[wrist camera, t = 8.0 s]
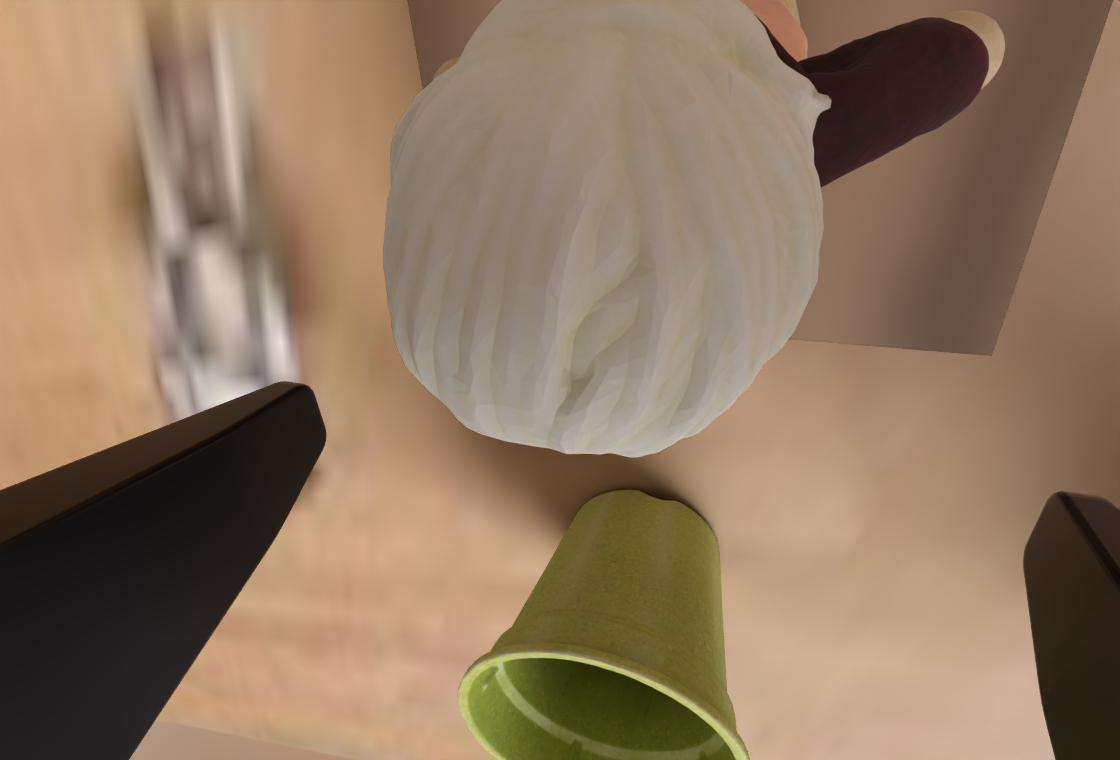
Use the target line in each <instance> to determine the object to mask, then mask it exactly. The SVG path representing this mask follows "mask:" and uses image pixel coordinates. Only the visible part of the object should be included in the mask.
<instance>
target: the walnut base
mask: <svg viewBox="0 0 1120 760" xmlns="http://www.w3.org/2000/svg"><path fill="white" fill-rule="evenodd" d="M407 1H408V6H409V12H410V18H411V23H412V29H413V35H414V40H415V46H416V52H417V57H418V63H419V69H420V74H421V80H422V86H423V89H424V88H425V87H427V86H428V85H429V84H430V83H431V82H432V81H433V79H434V76H435V74H436V72H437V71H438V69H439V68H440V67H441V66H442V65H443V64H444V63H445V62H447V61H449V60H451V59H453V58H457V57H461V55H462V53H463V51H464V48H465V46H466V44H467V43H468V41H469V40H470V38H471V37H472V35H473V34H474V32H475V31H476V29H477V28H478V27H479V26H480V24H481V23H482V22H483V21H484V20H485V18H486V17H487V16H488V15H489V14H490V12H491V11H492V10H493V9H494V8H495V7H496V6H497V5H498V4H499V3H500V1H501V0H407ZM1112 2H1113V0H796V3H797V8H798V13H799V18H800V23H801V28H802V30H803V31H804V33H805V36H806V38H807V44H808V50H807V58H810V57H814V56H817V55H822V54H826V53H829V52H831V51H833V50H835V49H836V48H838V47H840V46H842V45H844V44H847V43H850V42H852V41H853V40H855V39H861V38H864V37H867V36H869V35H872V34H874V33H876V32H879V31H883V30H888V29H890V28H892V27H895V26H897V25H901V24H904V23H908V22H911V21H914V20H917V19H920V18H928V17H935V18H940V17H942V16H944V15H947V14H950V13H952V12H956V11H964V10H967V11H975V12H981V13H983V14H985V15H987V16H989V17H990V18H992V19H994V20H995V21H996V22H997V24H998V25H999V27H1000V29H1001V31H1002V33H1003V35H1004V41H1005V51H1004V56H1003V60H1002V63H1001V65H1000V67H999V69H998V71H997V73H996V74H995V75H994V76H993V78H992V79H991V80H990V82H989V83H988V84H987V85H986V86H984V87H983V88H982V89H981V90H980V92H979V93H978V95H977V96H976V97H975V99H974V100H973V101H972V102H971V104H970V105H969V106H968V107H966V108H965V109H964V110H963V111H962V112H960V113H959V114H958V115H956V116H955V117H954V118H952V119H951V120H949V121H948V122H946V123H945V124H943V125H942V126H941V127H939V128H938V129H935V130H933V131H931V132H928V133H925V134H923V135H920V136H917V137H915V138H914V139H912V140H911V141H909V142H907V143H906V144H904V145H903V146H900V147H898V148H896V149H894V150H892V151H891V152H889V153H887V154H885V155H883V156H881V157H880V158H878V159H876V160H874V161H872V162H870V163H868V164H865V165H863V166H861V167H859V168H857V169H856V170H854V171H852V172H850V173H848V174H846V175H844V176H842V177H840V178H838V179H836V180H834V181H833V182H831V183H829V184H828V185H826V186H823V187H821V193H822V199H823V225H824V229H823V235H822V241H821V246H820V250H819V268H818V281H817V284H816V286H815V288H814V290H813V292H812V295H811V297H810V299H809V301H808V304H807V306H806V308H805V310H804V312H803V314H802V317H801V319H800V321H799V323H798V325H797V327H796V329H795V331H794V332H793V334H792V335H791V336H790V338H789V339H793V340H805V341H817V342H830V343H842V344H854V345H866V346H878V347H890V348H903V349H915V350H927V351H939V352H951V353H963V354H976V355H988V356H992V353H993V350H994V347H995V344H996V341H997V338H998V336H999V333H1000V330H1001V327H1002V324H1003V321H1004V318H1005V315H1006V312H1007V309H1008V306H1009V303H1010V300H1011V297H1012V295H1013V292H1014V289H1015V286H1016V283H1017V280H1018V277H1019V274H1020V271H1021V268H1022V265H1023V262H1024V259H1025V256H1026V253H1027V251H1028V248H1029V245H1030V242H1031V239H1032V236H1033V233H1034V230H1035V227H1036V224H1037V221H1038V218H1039V215H1040V212H1041V210H1042V207H1043V204H1044V201H1045V198H1046V195H1047V192H1048V189H1049V186H1050V183H1051V180H1052V177H1053V174H1054V171H1055V169H1056V166H1057V163H1058V160H1059V157H1060V154H1061V151H1062V148H1063V145H1064V142H1065V139H1066V136H1067V133H1068V130H1069V128H1070V125H1071V122H1072V119H1073V116H1074V113H1075V110H1076V107H1077V104H1078V101H1079V98H1080V95H1081V92H1082V89H1083V87H1084V84H1085V81H1086V78H1087V75H1088V72H1089V69H1090V66H1091V63H1092V60H1093V57H1094V54H1095V51H1096V48H1097V46H1098V43H1099V40H1100V37H1101V34H1102V31H1103V28H1104V25H1105V22H1106V19H1107V16H1108V13H1109V10H1110V7H1111V5H1112Z"/></svg>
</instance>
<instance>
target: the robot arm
mask: <svg viewBox="0 0 1120 760" xmlns="http://www.w3.org/2000/svg"><path fill="white" fill-rule="evenodd" d="M325 442H326V428H325V425H324V422H323V419H322V416H321V413H320V410H319V407H318V404H317V400H316V397H315V394H314V392H313V390H312V389H311V388H310V387H309V386H307V385H305V384H300V383H293V382H285V381H283V382H277V383H274V384H272V385H269V386H267V387H264V388H262V389H259V390H256V391H254V392H251V393H249V394H246V395H244V396H241V397H238V398H236V399H233V400H231V401H228V402H226V403H223V404H220V405H218V406H215V407H213V408H210V409H208V410H205V411H203V412H200V413H197V414H195V415H192V416H190V417H187V418H185V419H182V420H179V421H177V422H174V423H172V424H169V425H167V426H164V427H161V428H159V429H156V430H154V431H151V432H149V433H146V434H143V435H141V436H138V437H136V438H133V439H131V440H128V441H125V442H123V443H120V444H118V445H115V446H113V447H110V448H107V449H105V450H102V451H100V452H97V453H95V454H92V455H89V456H87V457H84V458H82V459H79V460H77V461H74V462H72V463H69V464H66V465H64V466H61V467H59V468H56V469H54V470H51V471H48V472H46V473H43V474H41V475H38V476H36V477H33V478H30V479H28V480H25V481H23V482H20V483H18V484H15V485H12V486H10V487H7V488H5V489H2V490H0V760H129V759H130V758H131V756H132V755H133V753H134V752H135V750H136V749H137V747H138V746H139V744H140V743H141V741H142V739H143V738H144V736H145V735H146V733H147V732H148V730H149V729H150V727H151V726H152V724H153V723H154V721H155V720H156V718H157V717H158V715H159V714H160V712H161V711H162V709H163V708H164V706H165V705H166V703H167V702H168V700H169V699H170V697H171V696H172V694H173V693H174V691H175V690H176V688H177V687H178V685H179V684H180V682H181V681H182V679H183V678H184V676H185V675H186V673H187V672H188V670H189V669H190V667H191V666H192V664H193V662H194V661H195V659H196V658H197V656H198V655H199V653H200V652H201V650H202V649H203V647H204V646H205V644H206V643H207V641H208V640H209V638H210V637H211V635H212V634H213V632H214V631H215V629H216V628H217V626H218V625H219V623H220V622H221V620H222V619H223V617H224V616H225V614H226V613H227V611H228V610H229V608H230V607H231V605H232V604H233V602H234V601H235V599H236V598H237V596H238V595H239V593H240V591H241V590H242V588H243V587H244V585H245V584H246V582H247V581H248V579H249V578H250V576H251V575H252V573H253V572H254V570H255V569H256V567H257V566H258V564H259V563H260V561H261V560H262V558H263V557H264V555H265V554H266V552H267V551H268V549H269V548H270V546H271V544H272V543H273V541H274V540H275V538H276V536H277V535H278V533H279V531H280V529H281V527H282V526H283V524H284V522H285V520H286V518H287V516H288V515H289V513H290V511H291V509H292V507H293V505H294V503H295V501H296V499H297V498H298V496H299V494H300V492H301V490H302V488H303V486H304V484H305V482H306V481H307V479H308V477H309V475H310V473H311V471H312V469H313V467H314V465H315V464H316V462H317V460H318V458H319V456H320V454H321V452H322V450H323V448H324V446H325ZM1023 568H1024V576H1025V584H1026V592H1027V599H1028V607H1029V615H1030V623H1031V630H1032V638H1033V646H1034V653H1035V661H1036V669H1037V676H1038V683H1039V690H1040V696H1041V702H1042V707H1043V711H1044V716H1045V720H1046V724H1047V729H1048V733H1049V736H1050V740H1051V744H1052V748H1053V752H1054V756H1055V759H1056V760H1120V509H1118V508H1117V507H1116V506H1114V505H1113V504H1112V503H1110V502H1109V501H1107V500H1106V499H1104V498H1102V497H1098V496H1092V495H1085V494H1078V493H1071V492H1064V491H1060V492H1057V493H1054V494H1053V495H1052V496H1051V497H1050V498H1049V499H1048V500H1047V502H1046V504H1045V506H1044V508H1043V510H1042V512H1041V514H1040V517H1039V519H1038V521H1037V523H1036V525H1035V527H1034V529H1033V531H1032V533H1031V535H1030V537H1029V539H1028V542H1027V544H1026V546H1025V550H1024V557H1023Z"/></svg>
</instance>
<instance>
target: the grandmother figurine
mask: <svg viewBox="0 0 1120 760" xmlns="http://www.w3.org/2000/svg"><path fill="white" fill-rule="evenodd" d="M807 50H808V44H807V38H806V36H805V33H804V31H803V30H802V28H801V23H800V18H799V13H798V8H797V3H796V0H501V1H500V3H499V4H498V5H497V6H496V7H495V8H494V9H493V10H492V11H491V12H490V14H489V15H488V16H487V17H486V18H485V20H484V21H483V22H482V23H481V24H480V26H479V27H478V28H477V29H476V31H475V32H474V34H473V35H472V37H471V38H470V40H469V41H468V43H467V44H466V46H465V48H464V51H463V53H462V55H461V57H457V58H453V59H451V60H449V61H447V62H445V63H444V64H443V65H442V66H441V67H440V68H439V69H438V71H437V72H436V74H435V76H434V79H433V81H432V82H431V83H430V84H429V85H428V86H427V87H425V88H424V89H423V90H422V91H421V92H420V93H419V94H418V95H417V96H416V97H415V99H414V100H413V101H412V102H411V104H410V105H409V107H408V108H407V110H406V112H405V113H404V115H403V116H402V118H401V119H400V121H399V122H398V124H397V125H396V129H395V132H394V136H393V140H392V146H391V153H390V159H391V190H390V193H389V196H388V199H387V210H386V222H385V233H384V245H383V268H384V274H385V280H386V290H387V301H388V308H389V311H390V315H391V323H392V329H393V334H394V339H395V344H396V347H397V349H398V351H399V353H400V356H401V358H402V360H403V363H404V364H405V366H406V367H407V368H408V369H409V371H410V372H411V373H412V374H413V375H414V376H415V377H416V378H417V379H418V380H419V381H420V382H421V383H422V384H423V385H424V387H425V388H426V389H427V390H428V391H430V392H431V393H432V394H433V395H434V396H435V397H436V398H438V399H439V400H440V401H441V402H442V403H443V404H445V405H446V406H447V408H448V409H449V410H450V411H451V412H452V413H453V415H454V416H455V417H456V419H457V420H458V421H460V422H461V423H462V424H463V425H464V426H465V427H467V428H469V429H471V430H473V431H475V432H477V433H479V434H482V435H485V436H489V437H493V438H496V439H500V440H503V441H507V442H513V443H519V444H524V445H530V446H535V447H542V448H550V449H553V450H556V451H559V452H562V453H565V454H597V455H602V454H607V453H614V454H618V455H621V456H625V457H629V458H635V457H641V456H645V455H649V454H654V453H658V452H660V451H662V450H663V449H665V448H667V447H669V446H671V445H673V444H674V443H676V442H677V441H678V440H680V439H683V438H687V437H691V436H694V435H696V434H697V433H699V432H700V431H701V430H703V429H704V428H706V427H707V426H708V425H709V424H710V423H711V422H712V421H713V420H714V419H715V418H717V417H718V416H719V415H721V414H722V413H723V412H725V411H726V410H727V409H729V408H730V407H731V406H732V405H733V403H734V402H735V401H736V399H737V398H738V397H739V396H740V395H741V394H742V393H744V392H745V391H746V390H747V389H749V387H750V386H751V384H752V383H753V381H754V379H755V378H756V376H757V374H758V373H759V371H760V370H761V368H762V366H763V365H764V363H766V362H767V361H768V360H769V359H771V358H772V357H773V356H774V355H775V354H776V353H777V352H778V351H779V350H780V349H781V348H782V347H783V346H784V344H785V343H786V342H787V340H788V339H789V338H790V336H791V335H792V334H793V332H794V331H795V329H796V327H797V325H798V323H799V321H800V319H801V317H802V314H803V312H804V310H805V308H806V306H807V304H808V301H809V299H810V297H811V295H812V292H813V290H814V288H815V286H816V284H817V281H818V268H819V250H820V246H821V241H822V235H823V229H824V225H823V199H822V193H821V187H823V186H826V185H828V184H829V183H831V182H833V181H834V180H836V179H838V178H840V177H842V176H844V175H846V174H848V173H850V172H852V171H854V170H856V169H857V168H859V167H861V166H863V165H865V164H868V163H870V162H872V161H874V160H876V159H878V158H880V157H881V156H883V155H885V154H887V153H889V152H891V151H892V150H894V149H896V148H898V147H900V146H903V145H904V144H906V143H907V142H909V141H911V140H912V139H914V138H915V137H917V136H920V135H923V134H925V133H928V132H931V131H933V130H935V129H938V128H939V127H941V126H942V125H943V124H945V123H946V122H948V121H949V120H951V119H952V118H954V117H955V116H956V115H958V114H959V113H960V112H962V111H963V110H964V109H965V108H966V107H968V106H969V105H970V104H971V102H972V101H973V100H974V99H975V97H976V96H977V95H978V93H979V92H980V90H981V89H982V88H983V87H984V86H986V85H987V84H988V83H989V82H990V80H991V79H992V78H993V76H994V75H995V74H996V73H997V71H998V69H999V67H1000V65H1001V63H1002V60H1003V56H1004V51H1005V41H1004V35H1003V33H1002V31H1001V29H1000V27H999V25H998V24H997V22H996V21H995V20H994V19H992V18H990V17H989V16H987V15H985V14H983V13H981V12H975V11H967V10H964V11H956V12H952V13H950V14H947V15H944V16H942V17H940V18H935V17H928V18H920V19H917V20H914V21H911V22H908V23H904V24H901V25H897V26H895V27H892V28H890V29H888V30H883V31H879V32H876V33H874V34H872V35H869V36H867V37H864V38H861V39H855V40H853V41H852V42H850V43H847V44H844V45H842V46H840V47H838V48H836V49H835V50H833V51H831V52H829V53H826V54H822V55H817V56H814V57H810V58H807Z"/></svg>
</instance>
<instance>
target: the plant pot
mask: <svg viewBox="0 0 1120 760" xmlns="http://www.w3.org/2000/svg"><path fill="white" fill-rule="evenodd" d="M458 706H459V709H460V712H461V714H462V717H463V718H464V720H465V722H466V724H467V726H468V728H469V730H470V731H471V732H472V734H473V736H474V737H475V738H476V739H477V741H478V742H479V743H480V744H481V745H482V746H483V747H484V748H485V749H486V750H487V751H488V752H489V753H490V754H492V755H493V756H494V757H496V759H497V760H750V758H749V754H748V751H747V749H746V747H745V744H744V742H743V740H742V739H741V737H740V736H739V734H738V733H737V730H736V720H735V713H734V709H733V705H732V703H731V700H730V698H729V695H728V693H727V683H726V666H725V648H724V632H723V615H722V593H721V570H720V552H719V546H718V543H717V540H716V537H715V535H714V534H713V532H712V530H711V529H710V527H709V526H708V525H707V524H706V522H705V521H704V520H703V519H702V518H701V517H700V516H699V515H697V514H696V513H695V512H694V511H692V510H691V509H690V508H688V507H687V506H685V505H684V504H682V503H680V502H678V501H669V500H661V499H658V498H654V497H651V496H649V495H647V494H645V493H643V492H641V491H639V490H617V491H612V492H607V493H604V494H601V495H599V496H596V497H594V498H592V499H591V500H589V501H588V502H587V503H585V504H584V505H583V506H582V507H581V508H580V510H579V511H578V513H577V514H576V516H575V518H574V519H573V521H572V523H571V525H570V526H569V528H568V530H567V532H566V534H565V535H564V537H563V539H562V541H561V543H560V544H559V546H558V548H557V550H556V551H555V553H554V555H553V557H552V558H551V560H550V562H549V564H548V565H547V567H546V569H545V570H544V572H543V574H542V576H541V577H540V579H539V581H538V583H537V584H536V586H535V588H534V589H533V591H532V593H531V595H530V596H529V598H528V600H527V601H526V603H525V605H524V607H523V608H522V610H521V612H520V614H519V615H518V617H517V619H516V620H515V622H514V624H513V625H512V627H511V628H509V629H508V630H507V631H506V632H504V633H503V634H502V635H501V636H500V638H499V639H498V640H497V642H496V643H495V645H494V646H493V648H492V650H491V651H490V652H488V653H486V654H485V655H483V656H481V657H480V658H479V659H477V660H476V661H475V662H474V663H473V664H472V665H471V666H470V667H469V668H468V670H467V672H466V673H465V675H464V677H463V679H462V680H461V683H460V685H459V689H458Z"/></svg>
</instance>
